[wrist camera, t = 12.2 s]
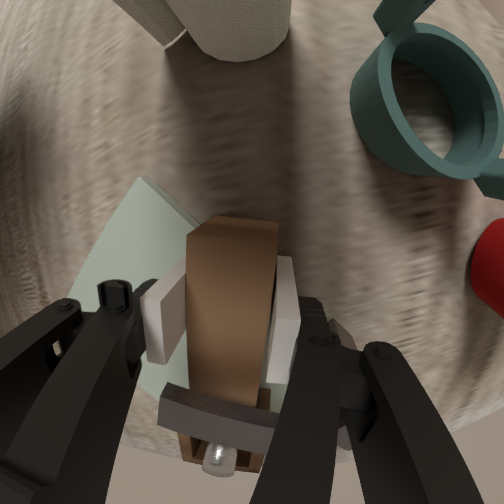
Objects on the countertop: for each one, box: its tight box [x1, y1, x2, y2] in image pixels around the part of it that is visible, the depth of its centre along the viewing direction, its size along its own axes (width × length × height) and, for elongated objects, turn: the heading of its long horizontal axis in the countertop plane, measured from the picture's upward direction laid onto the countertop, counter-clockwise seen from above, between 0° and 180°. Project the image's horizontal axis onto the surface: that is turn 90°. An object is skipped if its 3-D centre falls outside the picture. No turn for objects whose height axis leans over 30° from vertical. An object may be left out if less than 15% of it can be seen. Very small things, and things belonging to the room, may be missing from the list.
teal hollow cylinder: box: [350, 0, 504, 200], centre depth 9 cm, size 9×9×9 cm
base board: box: [67, 176, 289, 413], centre depth 18 cm, size 20×14×1 cm
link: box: [177, 216, 278, 473], centre depth 15 cm, size 17×6×5 cm, turn 175°
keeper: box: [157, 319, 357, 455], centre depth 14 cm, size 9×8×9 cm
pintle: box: [202, 442, 238, 477], centre depth 16 cm, size 2×2×7 cm
